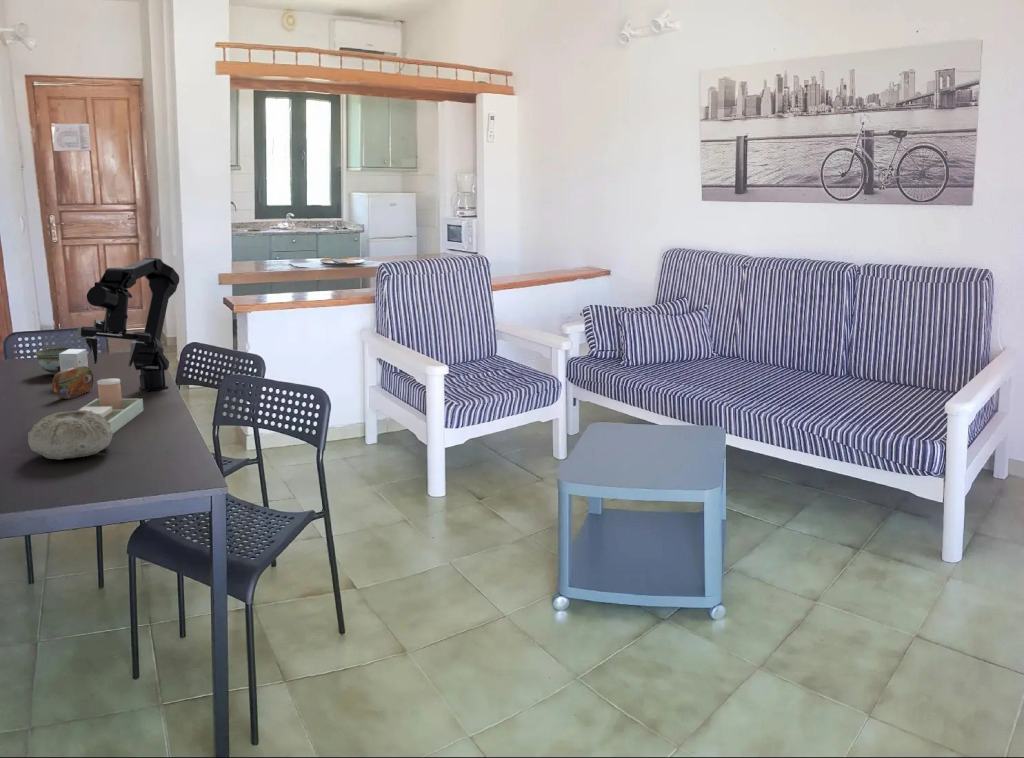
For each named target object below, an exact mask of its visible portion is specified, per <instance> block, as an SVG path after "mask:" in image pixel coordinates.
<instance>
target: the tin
mask: <svg viewBox="0 0 1024 758" xmlns="http://www.w3.org/2000/svg"><path fill="white" fill-rule="evenodd" d="M51 383H52V386H51V387H52V391H53V394H54V396H55V397H57V398H59V399H66V400H71V399H73V398H76V397H78V395H79V396H81V394H82V395H84V394H83V393H85V394H87V393H89V392H90V391H91V389H92V388H93V384H94V374H93V372H92V369H90V367H89V366H88V367H86V366H78V367H74V368H71V369H67V370H64V371H61V372H58V373H57V374H56V375H55V376H53V378H52V381H51ZM86 392H87V393H86ZM70 398H71V399H70Z"/></svg>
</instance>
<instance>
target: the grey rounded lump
mask: <svg viewBox="0 0 1024 758" xmlns="http://www.w3.org/2000/svg"><path fill="white" fill-rule="evenodd" d="M113 435H114V433H113V431H112V428H111V426H110V422H108V421H107V420H106V419H104V418H103V417H102V416H100V415H99V414H96V413H93V412H92V411H87V410H79V409H77V410H73V411H65V410H64V411H60V412H54V413H51V414H49V415H46V416H45V417H43V418H41V420H39V421H38V422H37V423H34V424H33V427H31V431H28V432H27V437H28V438H27V442H28V445H29V447H30V450H31V451H32V452H34V453H38V454H39V455H41V456H43V457H45V458H46V459H49V460H50V459H51V460H58V461H59V460H64V459H75V458H82V457H83V458H84V457H85V456H86V457H89V456H93V455H96V454H98V453H99V452H101V451H104V449H106V448H107V447H108V446H109V445H110V444H111V441H112V439H113ZM86 457H85V458H86Z"/></svg>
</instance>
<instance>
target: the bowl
mask: <svg viewBox="0 0 1024 758" xmlns="http://www.w3.org/2000/svg"><path fill="white" fill-rule="evenodd" d="M68 349H80V348H79V347H78V348H77V347H53V348H46V349H41V350H38V351H36V352H35V353H34V354H35V355H36V358H37V362H38V364H39V366H40V367H41V369H43V370H44V371H46V372H47V373H49V374H51V375H56V374H57V373H58V372H61V370H60V362H59V354H60V353H62V352H64V351H66V350H68ZM51 375H50V376H51Z"/></svg>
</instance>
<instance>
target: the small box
mask: <svg viewBox="0 0 1024 758" xmlns="http://www.w3.org/2000/svg"><path fill="white" fill-rule="evenodd" d="M59 362H60V370H61V371H64V370H67V369H71V368H74V367H78V366H86V367H88V368H89V363H88V362H89V361H88V352H87V349H86V348H79V349H68V350H66V351H64V352H62V353H60V354H59Z"/></svg>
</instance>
